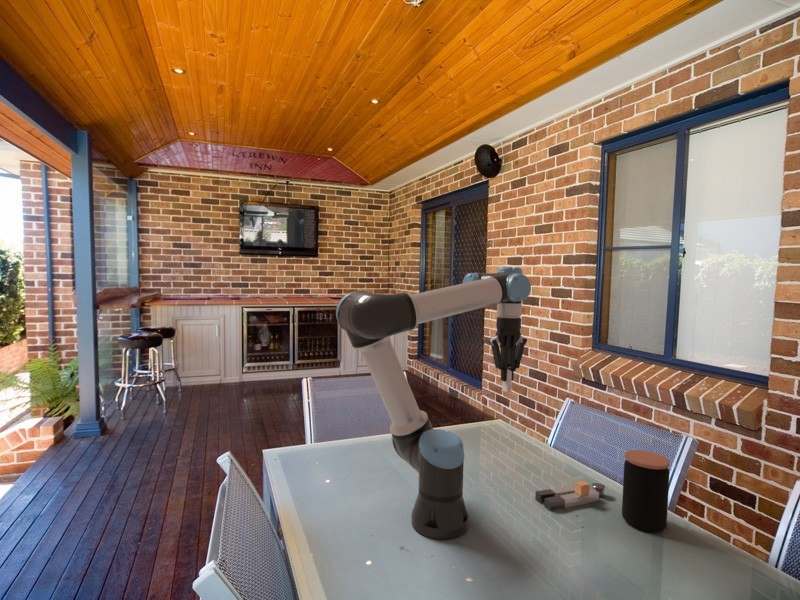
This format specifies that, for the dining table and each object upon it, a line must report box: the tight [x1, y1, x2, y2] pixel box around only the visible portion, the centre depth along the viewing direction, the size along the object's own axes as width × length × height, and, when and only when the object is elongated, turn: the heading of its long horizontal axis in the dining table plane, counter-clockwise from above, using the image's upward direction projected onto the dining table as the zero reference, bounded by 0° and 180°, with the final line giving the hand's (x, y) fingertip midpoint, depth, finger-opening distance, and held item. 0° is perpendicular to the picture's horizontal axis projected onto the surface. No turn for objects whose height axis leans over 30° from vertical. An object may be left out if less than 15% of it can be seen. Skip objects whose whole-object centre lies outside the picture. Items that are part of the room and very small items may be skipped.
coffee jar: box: [621, 449, 671, 534], centre depth 121 cm, size 11×11×18 cm
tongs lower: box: [543, 482, 606, 512], centre depth 133 cm, size 22×5×3 cm, turn 111°
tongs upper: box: [535, 485, 592, 505], centre depth 134 cm, size 18×2×2 cm, turn 107°
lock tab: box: [574, 480, 590, 496], centre depth 132 cm, size 3×2×3 cm
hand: (506, 390), depth 143 cm, fingers closed
